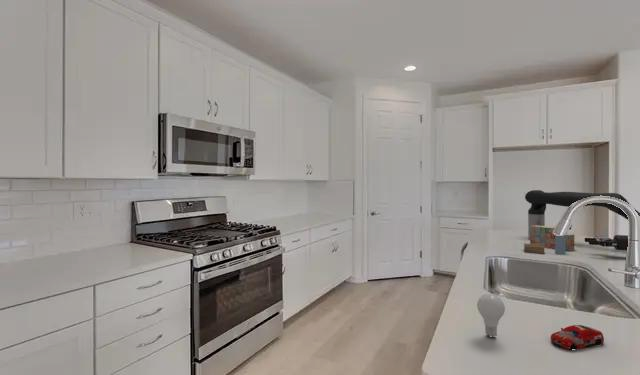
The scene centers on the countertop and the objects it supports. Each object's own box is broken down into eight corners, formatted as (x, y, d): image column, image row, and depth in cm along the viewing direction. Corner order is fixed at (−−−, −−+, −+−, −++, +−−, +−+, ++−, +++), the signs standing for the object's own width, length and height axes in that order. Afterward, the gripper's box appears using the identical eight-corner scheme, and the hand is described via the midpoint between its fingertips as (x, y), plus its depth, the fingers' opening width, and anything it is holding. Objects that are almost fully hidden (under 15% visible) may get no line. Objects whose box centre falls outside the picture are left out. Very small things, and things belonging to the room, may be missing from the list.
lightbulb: (473, 331, 87) (472, 290, 87) (497, 331, 87) (496, 290, 87) (484, 342, 81) (484, 299, 81) (510, 342, 81) (509, 299, 81)
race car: (566, 353, 76) (566, 336, 76) (545, 342, 81) (545, 326, 81) (609, 345, 79) (609, 329, 79) (586, 335, 84) (586, 320, 84)
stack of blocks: (574, 250, 183) (574, 228, 183) (568, 251, 180) (568, 229, 180) (535, 244, 202) (535, 224, 202) (529, 245, 200) (529, 225, 200)
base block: (524, 250, 187) (524, 243, 187) (543, 251, 183) (543, 244, 183) (524, 253, 180) (524, 246, 180) (544, 254, 175) (544, 247, 175)
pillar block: (555, 252, 178) (555, 230, 178) (564, 253, 177) (563, 231, 176) (556, 254, 175) (556, 232, 175) (565, 254, 173) (565, 232, 173)
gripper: (622, 233, 169) (583, 232, 177) (633, 237, 156) (590, 235, 164) (622, 247, 169) (583, 245, 177) (633, 253, 157) (590, 250, 164)
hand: (586, 241), depth 170 cm, fingers open, 8 cm apart
